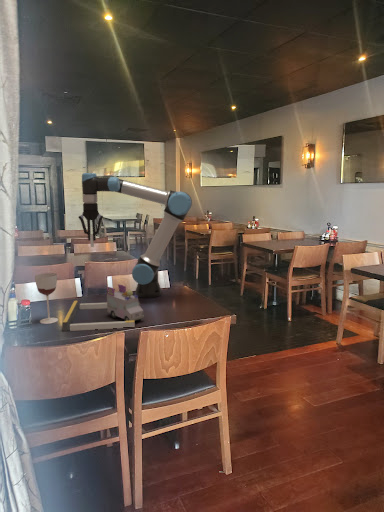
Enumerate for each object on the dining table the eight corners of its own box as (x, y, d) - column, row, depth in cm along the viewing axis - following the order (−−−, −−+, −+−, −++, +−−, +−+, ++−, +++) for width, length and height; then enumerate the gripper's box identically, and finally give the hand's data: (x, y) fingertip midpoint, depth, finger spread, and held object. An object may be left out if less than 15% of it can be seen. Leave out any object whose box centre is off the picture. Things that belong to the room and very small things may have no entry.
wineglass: (63, 320, 178) (60, 275, 175) (43, 325, 172) (40, 278, 168) (54, 316, 184) (51, 272, 180) (35, 320, 177) (31, 275, 174)
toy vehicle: (129, 326, 171) (128, 294, 168) (105, 316, 184) (104, 286, 182) (145, 321, 177) (144, 290, 175) (121, 311, 191) (120, 283, 188)
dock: (134, 305, 200) (134, 298, 200) (134, 327, 169) (134, 318, 168) (74, 308, 196) (74, 300, 195) (62, 331, 165) (62, 322, 164)
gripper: (103, 202, 205) (105, 245, 209) (78, 202, 203) (80, 245, 207) (102, 203, 197) (104, 247, 202) (76, 203, 196) (78, 247, 200)
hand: (92, 246), depth 204 cm, fingers closed
